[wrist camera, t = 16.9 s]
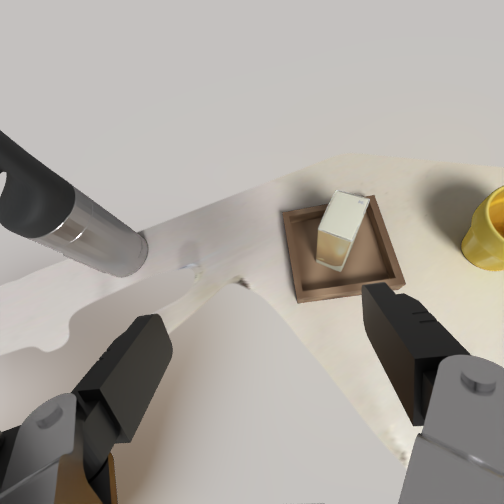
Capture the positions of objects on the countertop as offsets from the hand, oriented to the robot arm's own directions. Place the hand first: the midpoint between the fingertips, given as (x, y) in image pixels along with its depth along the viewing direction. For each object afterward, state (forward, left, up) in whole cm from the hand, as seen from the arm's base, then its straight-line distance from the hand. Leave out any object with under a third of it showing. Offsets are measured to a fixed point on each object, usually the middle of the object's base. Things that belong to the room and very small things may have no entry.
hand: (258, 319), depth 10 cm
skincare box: (+9, +14, -30) cm, 34 cm away
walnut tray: (+9, +14, -31) cm, 35 cm away
